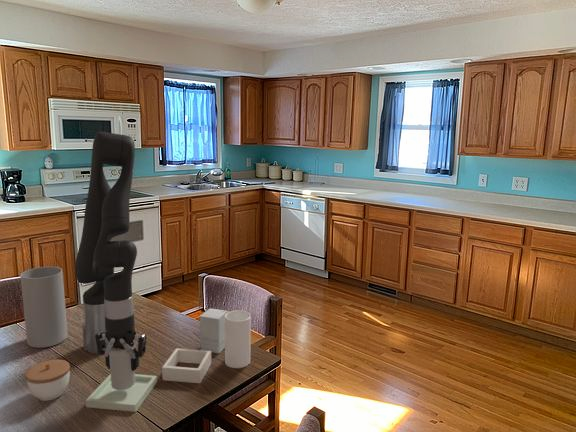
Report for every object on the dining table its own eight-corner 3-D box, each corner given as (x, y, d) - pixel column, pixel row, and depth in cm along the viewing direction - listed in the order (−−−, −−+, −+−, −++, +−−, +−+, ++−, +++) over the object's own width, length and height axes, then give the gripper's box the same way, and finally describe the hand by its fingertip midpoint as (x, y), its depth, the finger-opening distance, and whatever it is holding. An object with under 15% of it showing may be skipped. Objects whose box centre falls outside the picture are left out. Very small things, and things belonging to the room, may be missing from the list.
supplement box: (229, 344, 152) (228, 310, 149) (219, 354, 145) (218, 319, 143) (210, 340, 154) (210, 307, 152) (199, 350, 147) (199, 315, 145)
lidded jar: (31, 388, 124) (27, 358, 122) (72, 380, 128) (70, 351, 127) (25, 410, 114) (22, 377, 113) (70, 400, 119) (68, 369, 117)
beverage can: (127, 393, 118) (125, 353, 116) (106, 390, 119) (103, 350, 117) (139, 380, 124) (137, 341, 122) (119, 377, 125) (117, 339, 123)
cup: (225, 355, 144) (225, 310, 141) (250, 354, 145) (250, 310, 142) (224, 368, 136) (223, 321, 133) (250, 367, 137) (250, 320, 134)
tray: (86, 407, 116) (85, 400, 116) (112, 378, 130) (112, 372, 129) (135, 411, 115) (135, 405, 114) (157, 382, 128) (156, 375, 128)
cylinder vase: (45, 352, 144) (38, 280, 139) (18, 344, 148) (11, 275, 144) (75, 336, 155) (70, 269, 150) (50, 329, 160) (44, 264, 155)
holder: (162, 380, 129) (162, 367, 129) (176, 360, 141) (176, 348, 140) (200, 383, 128) (200, 370, 127) (211, 362, 140) (211, 350, 139)
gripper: (86, 316, 115) (91, 373, 118) (138, 319, 113) (141, 377, 116) (101, 305, 122) (105, 359, 125) (150, 308, 121) (152, 363, 124)
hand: (122, 368), depth 121 cm, fingers closed on beverage can, 6 cm apart
